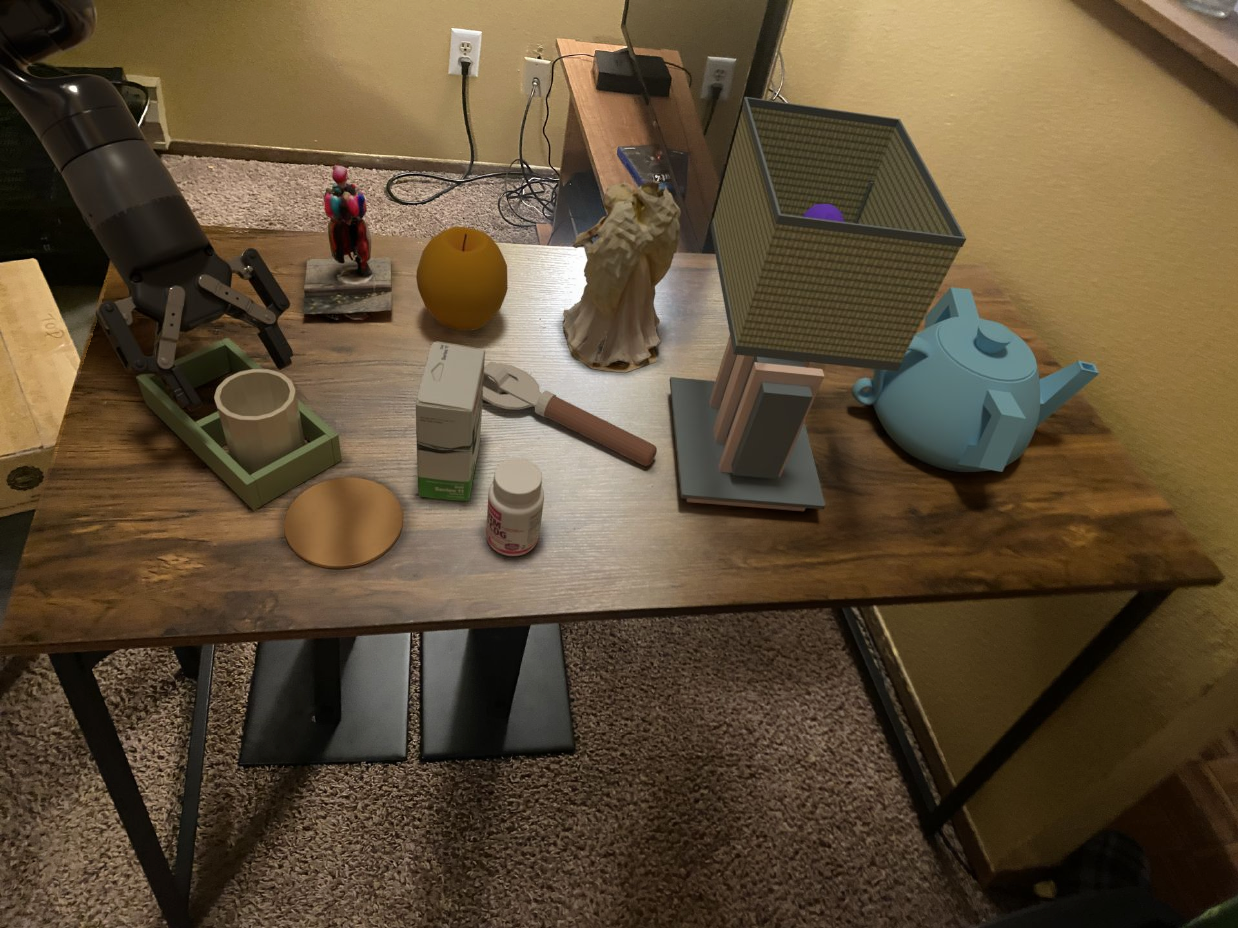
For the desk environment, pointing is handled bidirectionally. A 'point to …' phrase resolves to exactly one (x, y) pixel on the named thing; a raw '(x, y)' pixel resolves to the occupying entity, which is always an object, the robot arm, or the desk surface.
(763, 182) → the desk lamp
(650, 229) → the figurine
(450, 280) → the apple
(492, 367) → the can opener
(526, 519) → the pill bottle
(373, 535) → the coaster
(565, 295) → the desk surface
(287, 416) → the cup
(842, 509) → the desk surface
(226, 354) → the cup holder
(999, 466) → the teapot
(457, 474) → the ink box
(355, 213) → the statue
